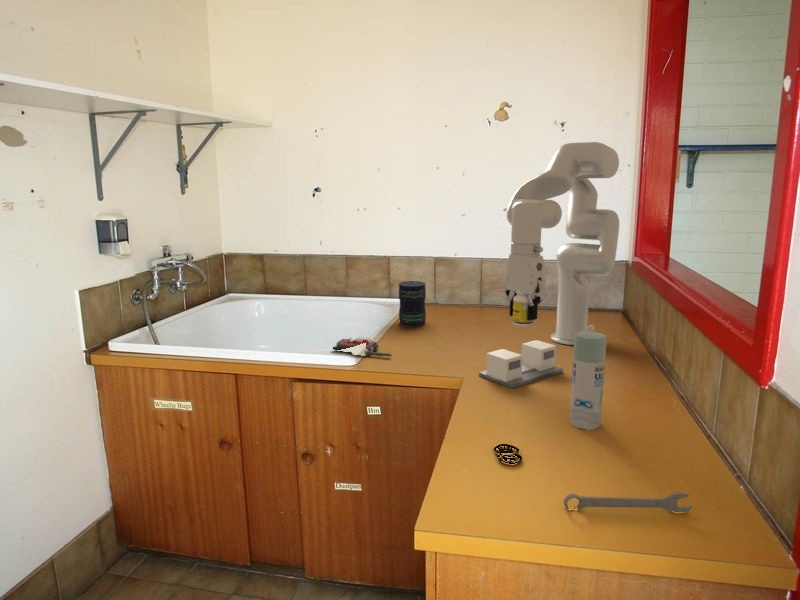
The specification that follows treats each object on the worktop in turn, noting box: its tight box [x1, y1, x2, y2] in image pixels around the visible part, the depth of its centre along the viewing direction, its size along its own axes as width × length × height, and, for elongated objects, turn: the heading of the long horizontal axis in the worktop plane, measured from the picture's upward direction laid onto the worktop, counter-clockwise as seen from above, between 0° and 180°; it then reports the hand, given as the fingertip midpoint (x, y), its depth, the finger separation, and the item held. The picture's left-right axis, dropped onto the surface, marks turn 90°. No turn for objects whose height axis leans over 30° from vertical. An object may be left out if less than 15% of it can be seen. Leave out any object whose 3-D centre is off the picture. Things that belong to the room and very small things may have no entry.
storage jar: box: [398, 280, 427, 327], centre depth 207 cm, size 10×10×15 cm
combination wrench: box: [563, 491, 693, 513], centre depth 91 cm, size 4×1×20 cm
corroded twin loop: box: [493, 443, 523, 464], centre depth 110 cm, size 5×8×1 cm, turn 1°
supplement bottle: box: [512, 290, 534, 327], centre depth 150 cm, size 5×5×10 cm
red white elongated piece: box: [332, 336, 392, 357], centre depth 175 cm, size 9×4×20 cm
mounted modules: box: [485, 339, 557, 382], centre depth 154 cm, size 20×7×6 cm, turn 126°
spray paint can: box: [569, 331, 608, 431], centre depth 121 cm, size 6×6×20 cm
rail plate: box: [478, 364, 564, 389], centre depth 154 cm, size 20×12×2 cm, turn 126°
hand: (523, 316), depth 151 cm, fingers closed on supplement bottle, 5 cm apart
